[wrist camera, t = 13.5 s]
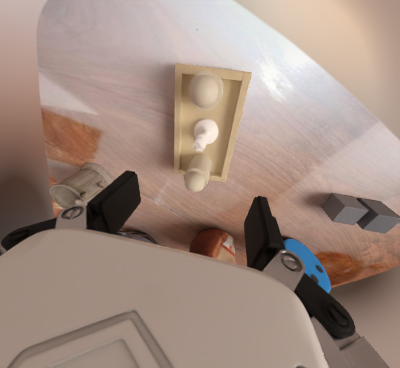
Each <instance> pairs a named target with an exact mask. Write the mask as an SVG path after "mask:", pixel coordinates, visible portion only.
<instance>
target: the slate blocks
mask: <svg viewBox="0 0 400 368" xmlns="http://www.w3.org/2000/svg"><path fill="white" fill-rule="evenodd" d="M322 208H323V210H324V211H325V212H326V214H327V215H328V216H329V218H330V219H331V220H332V221H334V222H339V223H345V224H350V225H354V224H355V223H357V224H358V225H359V226H360V227H361V228H362V229H363V230H369V231H374V232H379V233H386V232H388V231H389V230H390V229H391V228H393V227H394V226H395V225H396V224H398V223H399V222H400V216H399V215H397V214H396V213H395V212H394V211H392V210H391V209H390V208H388V207H387V206H386V205H384V204H383V203H382V202H380V201H374V200H368V199H363V198H359V199H358V200H357V199H355V198H354V197H351V196H346V195H340V194H334V193H333V194H332V195H331V196H330V198H329V199H328V200H327V202H326V203H325V204H324V206H323V207H322Z"/></svg>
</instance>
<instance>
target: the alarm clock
mask: <svg viewBox="0 0 400 368" xmlns="http://www.w3.org/2000/svg"><path fill="white" fill-rule="evenodd" d="M283 242H284V245H285V249H286V250H289V251H292V252H293V253H295V254H296V255H297V256H299V257H300V259H301V260H302V261H303V263H304V265H305V273H306V274H307V275H308V276H309V277H310V278H312V279H313V280H314V281H315V282H316V283H317V284H318V285H319V286H321V287H322V288H323V289H324V290H325V291H326V292H327V293H329V291H330V288H331V286H330V281H329V278H328V275H327V273H326V271H325V269H324V268H323V266H322V265H321V263H320V262H319V260H318V259H317V258H316V257H315V255H314V254H313V253H312V252H311V251H310V250H309V249H308V248H307V247H305V246H304V245H303V244H302V243H300V242H298V241H296V240H294V239H286V240H284V241H283Z"/></svg>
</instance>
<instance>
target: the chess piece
mask: <svg viewBox="0 0 400 368" xmlns="http://www.w3.org/2000/svg"><path fill="white" fill-rule="evenodd" d="M218 132H219V131H218V126H217V124H216V123H215V122H214V121H213V120H211V119H207V118H204V119H201V120H199V121H198V122H197V123H196V125H195V127H194V136H195V138H196V139H195V140H194V142H193V147H194V148H195V150H196V151H201V152H202V151H203V150H204V149H205V147H206V145H207V144H211V143H213V142H214V141H215V140H216V138H217V137H218Z"/></svg>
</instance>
